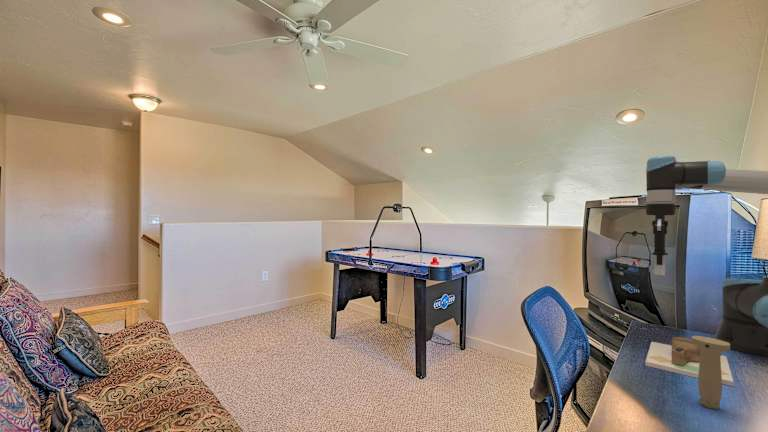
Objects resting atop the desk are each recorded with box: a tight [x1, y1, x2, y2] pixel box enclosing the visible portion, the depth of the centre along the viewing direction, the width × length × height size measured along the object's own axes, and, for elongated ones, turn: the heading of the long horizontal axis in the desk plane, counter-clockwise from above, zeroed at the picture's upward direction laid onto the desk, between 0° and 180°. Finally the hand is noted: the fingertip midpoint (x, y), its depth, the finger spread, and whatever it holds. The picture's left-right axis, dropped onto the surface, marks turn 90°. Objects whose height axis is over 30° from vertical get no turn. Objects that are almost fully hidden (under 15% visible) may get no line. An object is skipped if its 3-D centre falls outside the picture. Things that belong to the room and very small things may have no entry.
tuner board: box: [644, 341, 734, 387], centre depth 102 cm, size 18×22×1 cm
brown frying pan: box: [671, 336, 700, 366], centre depth 101 cm, size 13×7×5 cm, turn 126°
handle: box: [691, 335, 731, 410], centre depth 79 cm, size 5×6×15 cm
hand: (659, 274), depth 114 cm, fingers closed
